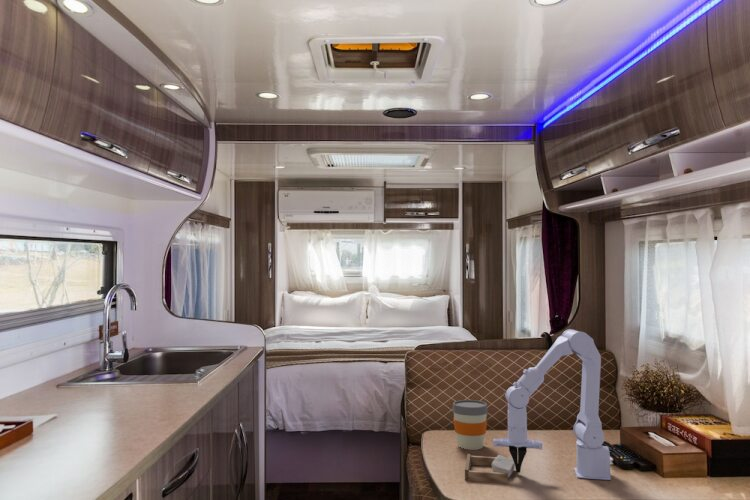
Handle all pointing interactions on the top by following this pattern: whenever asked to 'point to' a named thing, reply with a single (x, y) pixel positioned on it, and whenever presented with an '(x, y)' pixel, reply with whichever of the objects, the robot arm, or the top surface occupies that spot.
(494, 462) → the white rough stone
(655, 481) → the top surface
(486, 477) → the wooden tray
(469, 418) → the reusable coffee cup
